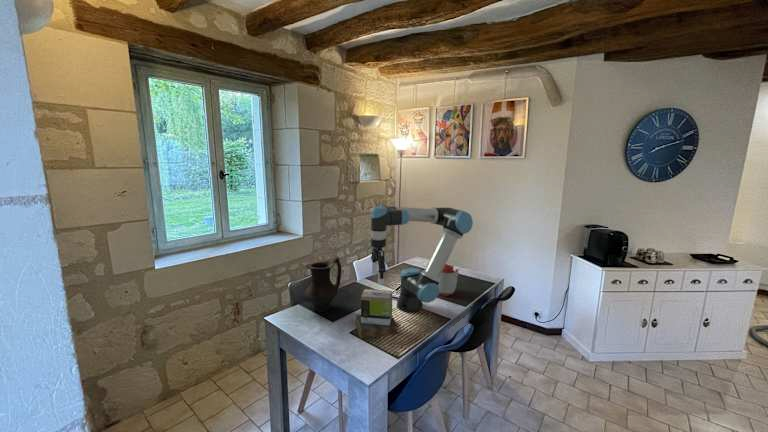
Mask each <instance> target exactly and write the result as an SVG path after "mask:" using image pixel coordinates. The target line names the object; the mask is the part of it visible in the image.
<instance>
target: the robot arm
mask: <svg viewBox="0 0 768 432" xmlns="http://www.w3.org/2000/svg"><path fill="white" fill-rule="evenodd" d="M370 212H371V213H370V246H371V247H372V249H371V250H372V251H371V255H370V260H371V275H378V278H377V280H378V281H377V283H378V284H377V285H378V286H380V285H381V286H382V285H385V273H386V271H387V270H386V260H385V251H384V250H383V248H385V247H386V246H387V234H388V231H387V227H390V226H402V225H403V226H404V225H406V224H408V223H409V222H420V223H421V222H422V223H423V222H424V223H430V224H431V225H439V226H441V227H442V231H443V233H442V234H441V236H440V239H439V241H438V242H437V245H436V247H435V249H434V250H433V253H432V254H431V257H430V259H429V260H428V262H427V265H426V267H425V269H424V270H421V269H420V268H416V267H414V268H413V267H410V268H404V269H402V270H401V272H400V292H399V296H398V299H397V300H396V308H397V309H399V310H400V311H402V312H404V313H405V312H406V313H417V312H420V311H421V310H422V309H423V303H426V304H428V303H431V302H434V301H435V300H436V299H437V298H438V297H439V296H440V295H439V287H438V285H439V283H440V281H439V276H440V274H441V272H442V270H443V268H444V266H445V264H447V262H448V260H449V258H450V256H451V254H452V252H453V249H454V248H455V245H456V244H457V242H458V240H459V239H462V238H463V236H464V235H466V234H468V233H470V231H471V230H472V228H473V225H474V222H473V217H472V215H471V214H470V213H469V212H467V211H464V210H462V209H461V210H460V209H456V208H452V207H431V208H422V207H421V208H419V207H406V206H404V207H403V206H390V205H389V206H388V205H385V204H381V205H378V206H373V207H372V208H371V211H370Z"/></svg>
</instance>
